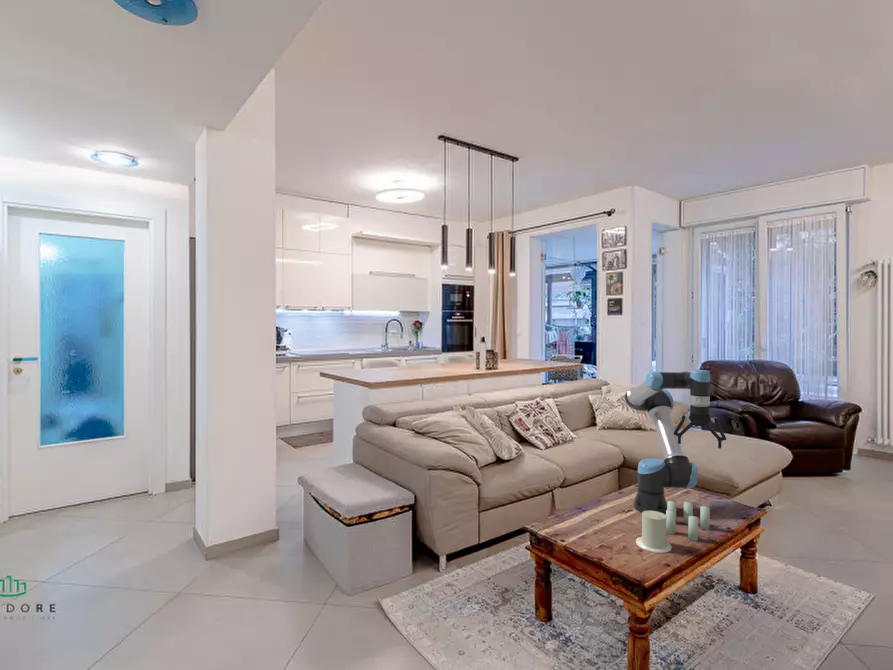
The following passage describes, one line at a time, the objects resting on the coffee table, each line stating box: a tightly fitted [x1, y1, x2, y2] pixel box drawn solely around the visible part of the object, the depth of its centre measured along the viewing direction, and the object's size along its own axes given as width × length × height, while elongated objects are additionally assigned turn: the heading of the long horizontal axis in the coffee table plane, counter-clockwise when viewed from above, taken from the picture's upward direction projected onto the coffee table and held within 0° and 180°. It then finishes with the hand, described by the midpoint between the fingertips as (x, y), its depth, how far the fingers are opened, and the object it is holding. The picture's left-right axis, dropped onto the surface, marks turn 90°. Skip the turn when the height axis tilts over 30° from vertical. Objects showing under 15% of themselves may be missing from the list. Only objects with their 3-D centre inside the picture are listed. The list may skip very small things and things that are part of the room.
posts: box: [665, 500, 711, 542], centre depth 200 cm, size 17×21×9 cm
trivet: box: [635, 536, 673, 554], centre depth 186 cm, size 13×13×1 cm
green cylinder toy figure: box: [641, 511, 667, 549], centre depth 186 cm, size 9×9×12 cm
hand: (699, 453), depth 204 cm, fingers open, 13 cm apart
